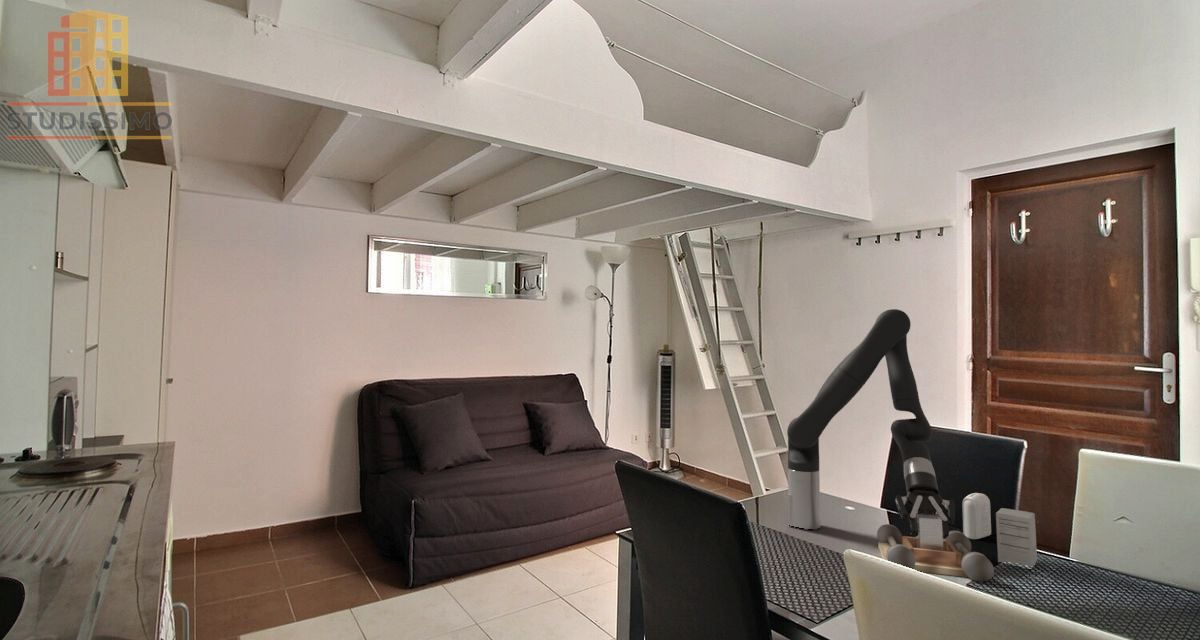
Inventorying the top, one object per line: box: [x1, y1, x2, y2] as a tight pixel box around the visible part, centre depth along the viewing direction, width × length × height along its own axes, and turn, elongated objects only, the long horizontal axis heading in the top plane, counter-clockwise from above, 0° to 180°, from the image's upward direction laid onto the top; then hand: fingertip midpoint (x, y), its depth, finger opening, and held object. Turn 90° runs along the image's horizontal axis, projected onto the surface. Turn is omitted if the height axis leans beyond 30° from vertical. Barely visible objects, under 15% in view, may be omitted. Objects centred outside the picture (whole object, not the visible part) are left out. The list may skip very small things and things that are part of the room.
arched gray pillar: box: [962, 492, 992, 540], centre depth 167 cm, size 10×4×12 cm, turn 123°
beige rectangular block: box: [915, 512, 943, 551], centre depth 144 cm, size 5×5×10 cm
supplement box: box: [995, 507, 1038, 566], centre depth 145 cm, size 7×7×13 cm
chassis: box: [876, 523, 995, 583], centre depth 144 cm, size 22×21×6 cm
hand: (930, 535), depth 143 cm, fingers open, 5 cm apart
